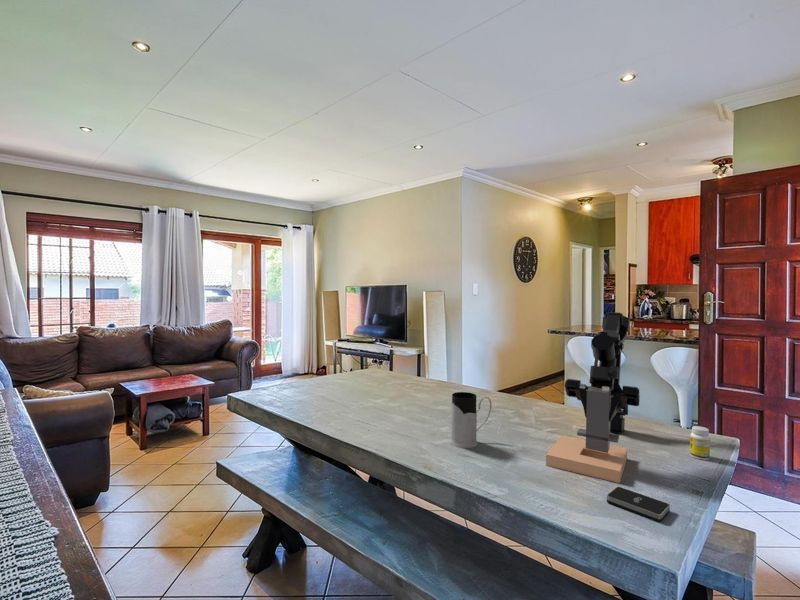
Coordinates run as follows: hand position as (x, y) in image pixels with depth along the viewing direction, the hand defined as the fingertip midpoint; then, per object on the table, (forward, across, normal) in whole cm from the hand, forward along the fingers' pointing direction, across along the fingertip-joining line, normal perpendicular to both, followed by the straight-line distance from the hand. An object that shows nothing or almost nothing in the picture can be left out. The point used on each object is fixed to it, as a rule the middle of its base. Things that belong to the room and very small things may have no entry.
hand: (597, 418), depth 113 cm
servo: (+5, 0, +7) cm, 9 cm away
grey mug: (+11, -36, +8) cm, 38 cm away
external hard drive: (+22, +11, -2) cm, 25 cm away
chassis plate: (+8, -3, +11) cm, 14 cm away
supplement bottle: (-8, +24, +27) cm, 37 cm away
